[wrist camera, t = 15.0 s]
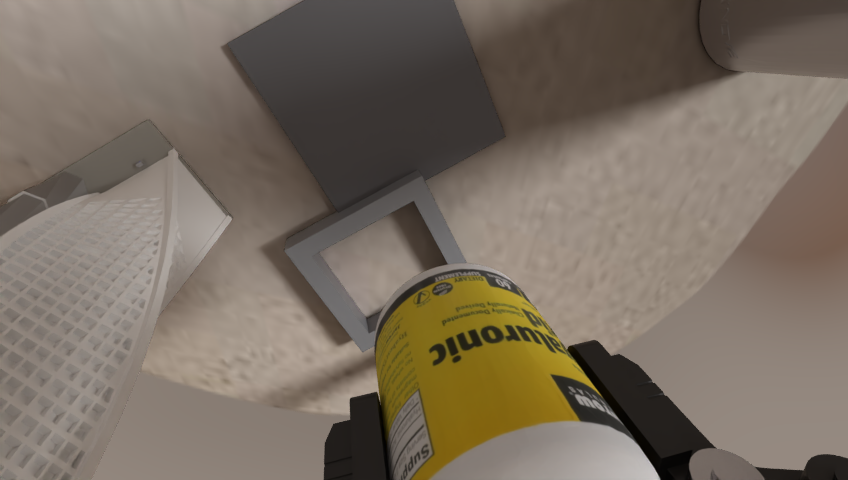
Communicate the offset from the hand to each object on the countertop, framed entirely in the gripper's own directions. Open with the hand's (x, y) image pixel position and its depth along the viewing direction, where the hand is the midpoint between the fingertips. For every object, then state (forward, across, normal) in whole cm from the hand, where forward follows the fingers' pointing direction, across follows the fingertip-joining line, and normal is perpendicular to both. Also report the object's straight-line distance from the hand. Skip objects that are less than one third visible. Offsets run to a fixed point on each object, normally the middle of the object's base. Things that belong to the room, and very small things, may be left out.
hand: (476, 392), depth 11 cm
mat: (+18, 0, -6) cm, 19 cm away
